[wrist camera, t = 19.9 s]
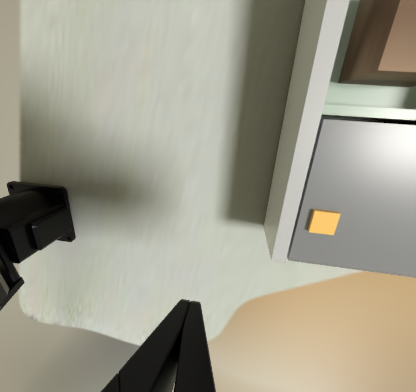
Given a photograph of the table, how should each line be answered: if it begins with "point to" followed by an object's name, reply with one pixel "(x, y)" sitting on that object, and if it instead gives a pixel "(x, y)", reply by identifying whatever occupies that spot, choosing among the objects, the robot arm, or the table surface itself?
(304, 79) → the drink tray
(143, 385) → the robot arm
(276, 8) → the table surface
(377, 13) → the walnut block
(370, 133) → the console
